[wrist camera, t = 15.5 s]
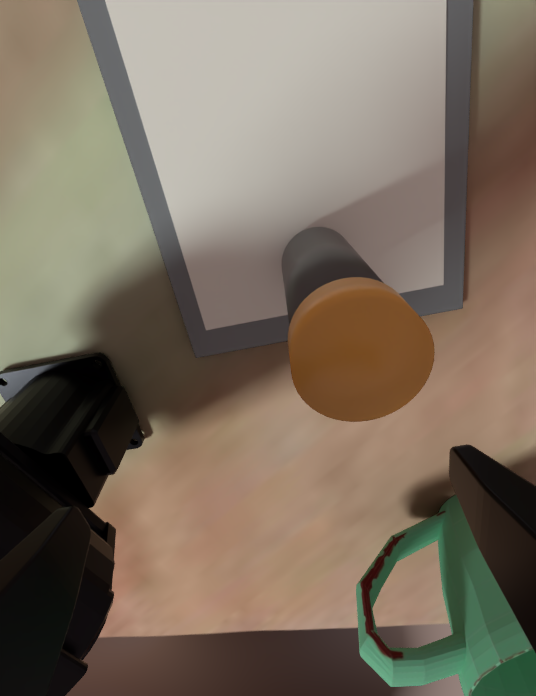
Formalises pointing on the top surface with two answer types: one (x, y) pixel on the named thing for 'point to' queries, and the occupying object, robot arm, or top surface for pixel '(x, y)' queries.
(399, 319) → the marker
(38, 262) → the top surface
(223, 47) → the whiteboard
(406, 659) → the mug
